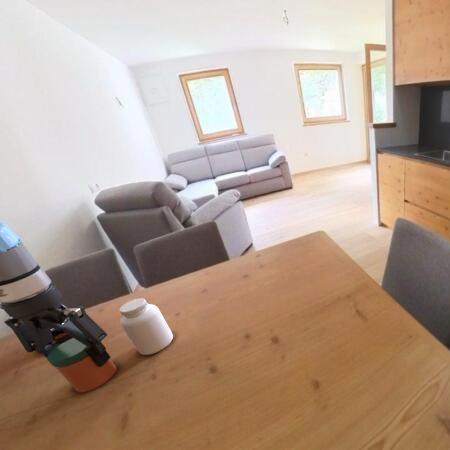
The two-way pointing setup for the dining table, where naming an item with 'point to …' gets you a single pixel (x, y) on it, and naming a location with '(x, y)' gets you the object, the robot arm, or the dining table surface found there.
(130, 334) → the pill bottle
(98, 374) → the jar
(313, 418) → the dining table surface
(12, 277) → the robot arm
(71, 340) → the jar lid
